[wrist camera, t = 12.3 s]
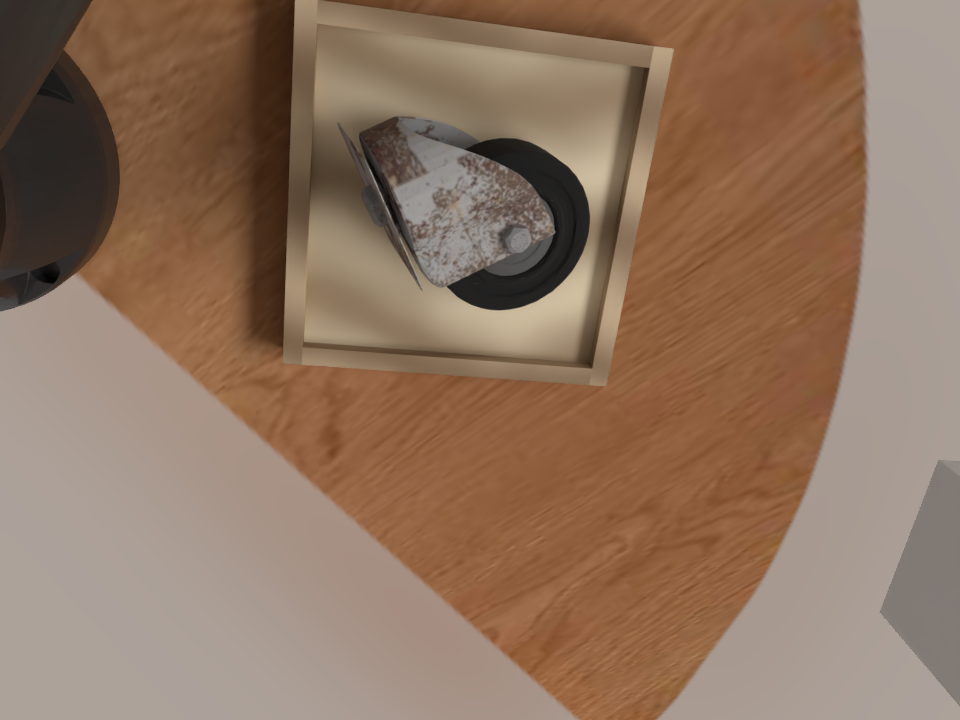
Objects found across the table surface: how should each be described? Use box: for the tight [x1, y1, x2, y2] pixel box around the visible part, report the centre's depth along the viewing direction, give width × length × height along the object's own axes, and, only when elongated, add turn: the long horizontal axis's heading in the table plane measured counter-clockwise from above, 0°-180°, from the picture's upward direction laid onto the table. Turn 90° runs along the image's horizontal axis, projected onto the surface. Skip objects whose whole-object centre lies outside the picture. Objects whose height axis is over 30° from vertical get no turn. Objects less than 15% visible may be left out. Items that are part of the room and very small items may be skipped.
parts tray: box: [283, 0, 674, 386], centre depth 41 cm, size 18×18×2 cm
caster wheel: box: [337, 116, 590, 311], centre depth 38 cm, size 7×11×10 cm
